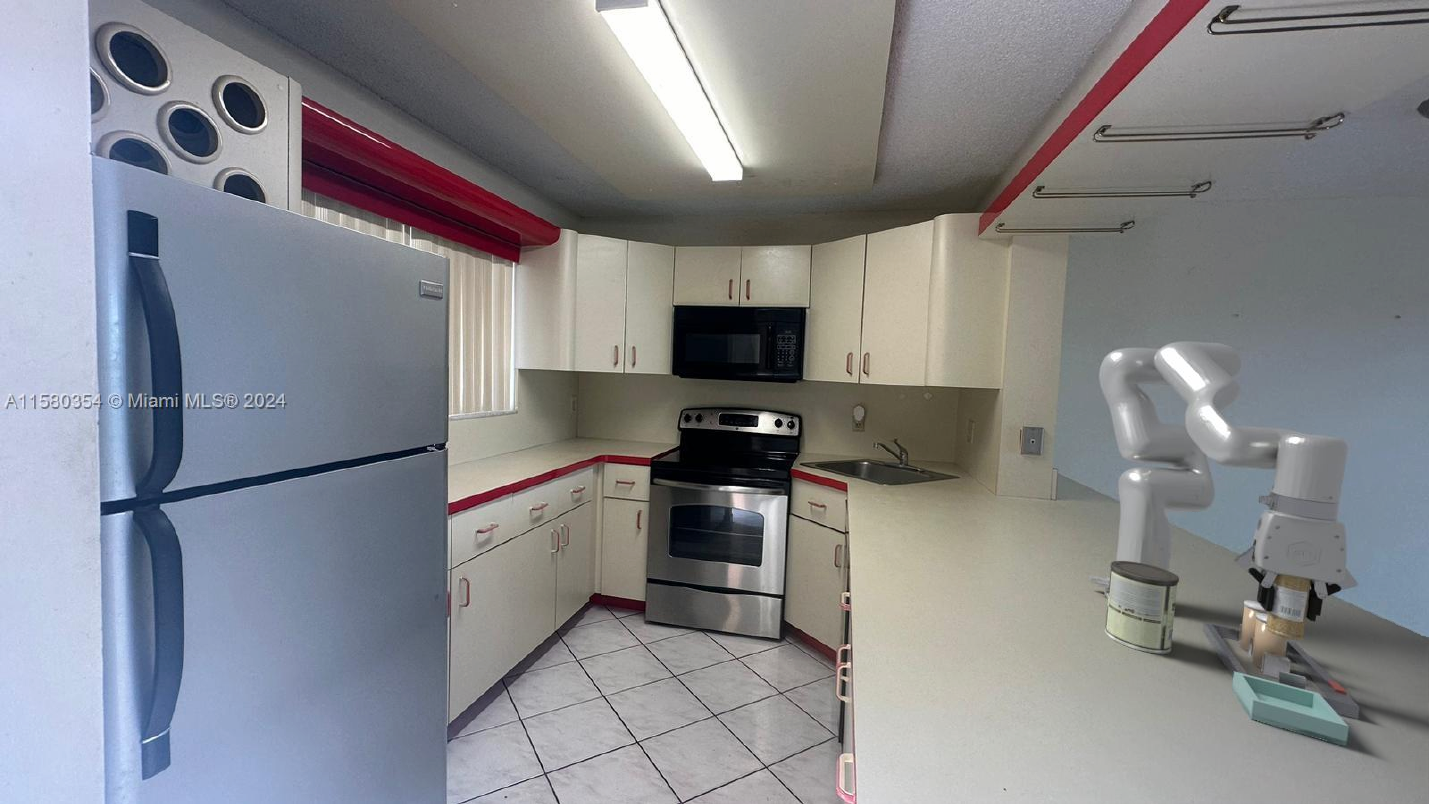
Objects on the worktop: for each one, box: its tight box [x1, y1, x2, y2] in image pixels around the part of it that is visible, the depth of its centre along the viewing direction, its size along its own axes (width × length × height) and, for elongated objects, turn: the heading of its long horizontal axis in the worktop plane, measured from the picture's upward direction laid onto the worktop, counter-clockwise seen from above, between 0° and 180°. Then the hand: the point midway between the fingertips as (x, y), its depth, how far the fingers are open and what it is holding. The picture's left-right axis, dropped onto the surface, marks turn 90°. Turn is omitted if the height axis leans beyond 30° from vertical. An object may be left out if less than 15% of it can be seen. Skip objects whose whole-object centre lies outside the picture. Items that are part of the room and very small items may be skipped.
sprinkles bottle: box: [1265, 574, 1311, 641], centre depth 88 cm, size 5×5×13 cm
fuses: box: [1239, 599, 1288, 669], centre depth 97 cm, size 4×11×9 cm, turn 147°
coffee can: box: [1104, 560, 1180, 655], centre depth 102 cm, size 10×10×14 cm
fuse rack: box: [1202, 621, 1360, 720], centre depth 94 cm, size 13×24×4 cm, turn 147°
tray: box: [1231, 671, 1349, 748], centre depth 80 cm, size 10×10×3 cm
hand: (1286, 612), depth 88 cm, fingers closed on sprinkles bottle, 4 cm apart
